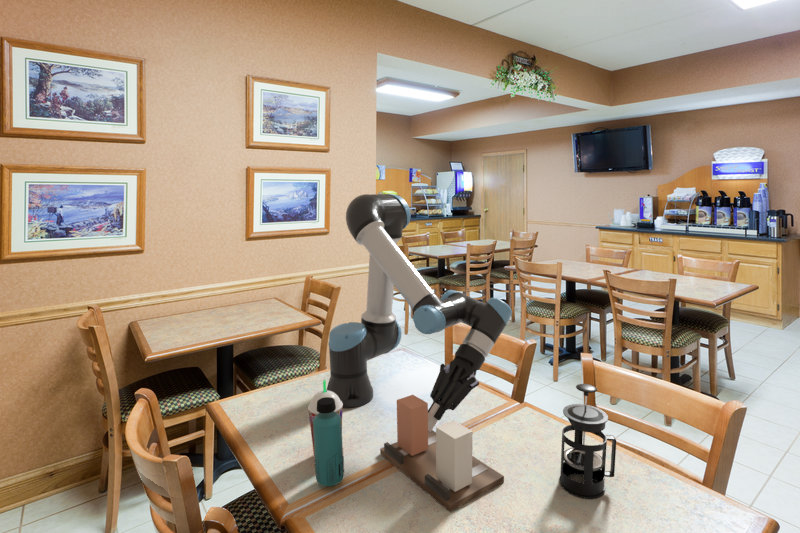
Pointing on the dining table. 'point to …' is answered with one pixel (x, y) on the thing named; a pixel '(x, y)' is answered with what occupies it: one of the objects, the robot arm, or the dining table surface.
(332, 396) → the smoothie
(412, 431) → the key
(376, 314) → the robot arm
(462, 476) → the key
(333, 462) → the beverage bottle
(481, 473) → the board
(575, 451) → the french press
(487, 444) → the dining table surface
